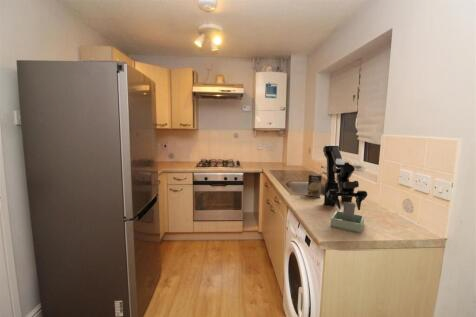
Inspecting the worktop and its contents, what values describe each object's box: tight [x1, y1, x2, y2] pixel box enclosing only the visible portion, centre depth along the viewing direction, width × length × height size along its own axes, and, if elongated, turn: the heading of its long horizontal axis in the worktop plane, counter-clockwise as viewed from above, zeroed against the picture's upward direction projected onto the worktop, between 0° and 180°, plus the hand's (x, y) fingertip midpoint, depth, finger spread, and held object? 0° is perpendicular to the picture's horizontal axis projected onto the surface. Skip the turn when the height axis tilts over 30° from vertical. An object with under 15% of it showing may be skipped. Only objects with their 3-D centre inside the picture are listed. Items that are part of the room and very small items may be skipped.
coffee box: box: [306, 173, 323, 198], centre depth 170 cm, size 9×6×16 cm
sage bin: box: [330, 210, 365, 234], centre depth 118 cm, size 14×14×4 cm
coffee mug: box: [340, 190, 355, 203], centre depth 160 cm, size 12×9×10 cm
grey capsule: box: [342, 201, 356, 222], centre depth 117 cm, size 5×5×11 cm
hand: (349, 209), depth 116 cm, fingers open, 9 cm apart
